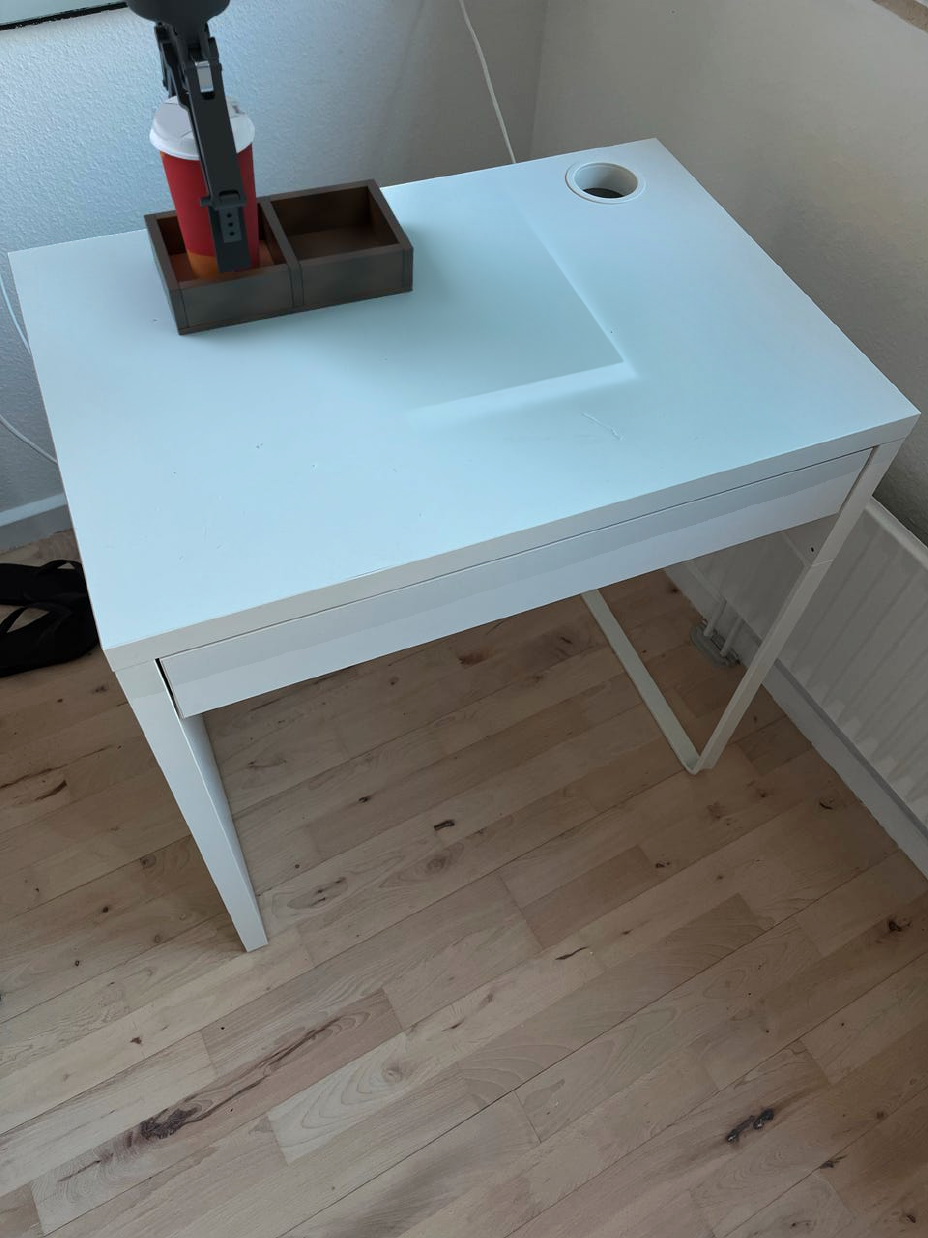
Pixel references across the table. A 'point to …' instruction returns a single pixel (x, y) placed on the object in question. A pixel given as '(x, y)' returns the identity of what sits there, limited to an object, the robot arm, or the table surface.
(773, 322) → the table surface
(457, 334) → the table surface
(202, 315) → the cup holder
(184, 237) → the coffee cup
